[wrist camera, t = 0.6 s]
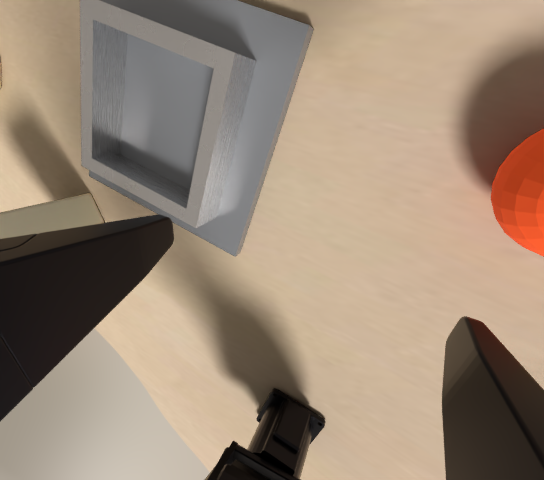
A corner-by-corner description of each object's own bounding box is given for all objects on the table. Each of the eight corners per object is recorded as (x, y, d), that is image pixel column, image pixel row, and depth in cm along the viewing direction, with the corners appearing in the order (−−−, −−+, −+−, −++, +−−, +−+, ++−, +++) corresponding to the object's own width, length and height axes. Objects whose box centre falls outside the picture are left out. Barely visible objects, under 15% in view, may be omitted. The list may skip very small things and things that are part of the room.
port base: (240, 252, 27) (235, 256, 26) (97, 174, 31) (89, 176, 30) (313, 29, 18) (309, 25, 18) (102, -44, 22) (90, -51, 21)
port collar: (216, 217, 26) (196, 228, 23) (110, 161, 28) (81, 165, 25) (256, 61, 19) (235, 52, 17) (117, 7, 22) (79, -8, 19)
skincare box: (78, 236, 36) (-51, 283, 26) (61, 202, 35) (-82, 238, 25) (109, 226, 33) (-23, 276, 23) (91, 189, 32) (-57, 224, 22)
